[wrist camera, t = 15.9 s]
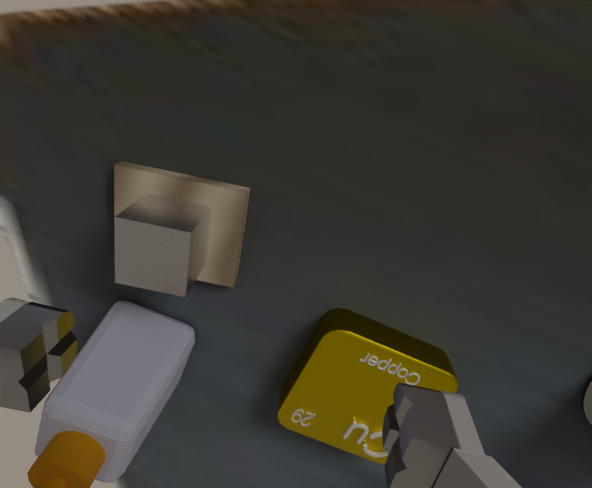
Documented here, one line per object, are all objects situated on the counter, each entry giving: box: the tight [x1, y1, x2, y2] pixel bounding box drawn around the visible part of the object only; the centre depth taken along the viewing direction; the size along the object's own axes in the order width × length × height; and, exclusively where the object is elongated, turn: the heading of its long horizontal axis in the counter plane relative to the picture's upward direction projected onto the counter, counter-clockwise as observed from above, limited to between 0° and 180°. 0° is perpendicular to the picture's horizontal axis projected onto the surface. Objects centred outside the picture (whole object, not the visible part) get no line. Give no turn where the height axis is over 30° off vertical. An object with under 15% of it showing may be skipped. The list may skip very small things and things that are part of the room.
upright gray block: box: [115, 193, 212, 297], centre depth 35 cm, size 6×6×6 cm
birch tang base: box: [114, 161, 250, 287], centre depth 36 cm, size 12×10×6 cm
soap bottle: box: [28, 301, 195, 488], centre depth 36 cm, size 10×14×22 cm
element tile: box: [278, 308, 459, 464], centre depth 43 cm, size 15×15×5 cm
